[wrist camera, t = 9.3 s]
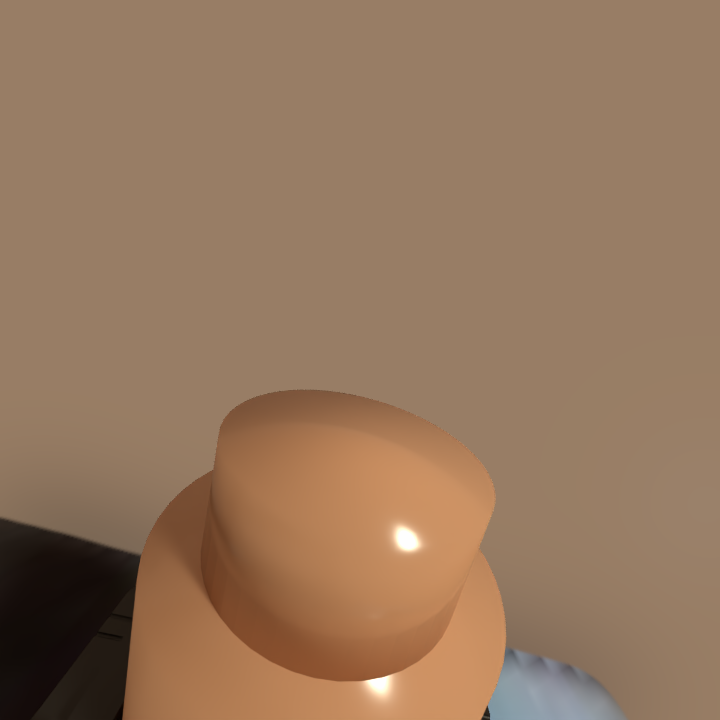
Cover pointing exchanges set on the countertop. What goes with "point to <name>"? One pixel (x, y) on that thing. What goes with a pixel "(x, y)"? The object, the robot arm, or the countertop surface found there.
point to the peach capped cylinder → (320, 573)
